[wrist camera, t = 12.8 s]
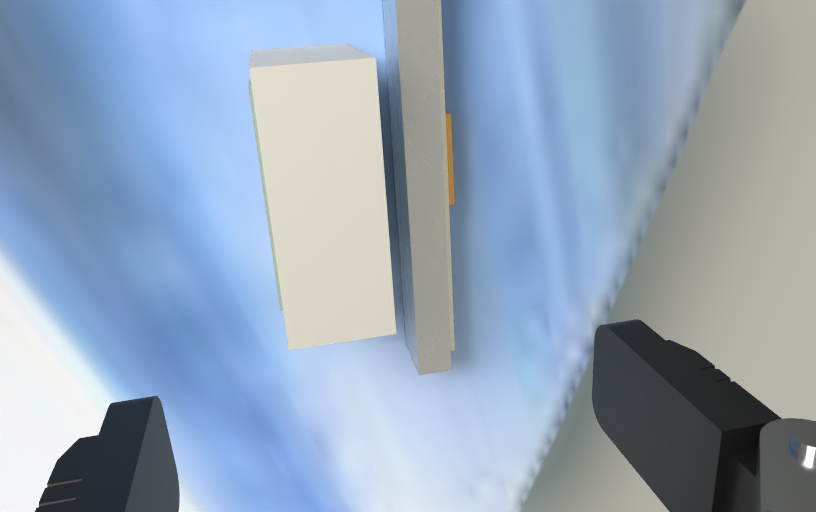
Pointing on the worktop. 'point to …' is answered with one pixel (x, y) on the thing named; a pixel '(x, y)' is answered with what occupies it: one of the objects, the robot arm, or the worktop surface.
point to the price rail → (421, 177)
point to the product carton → (324, 191)
